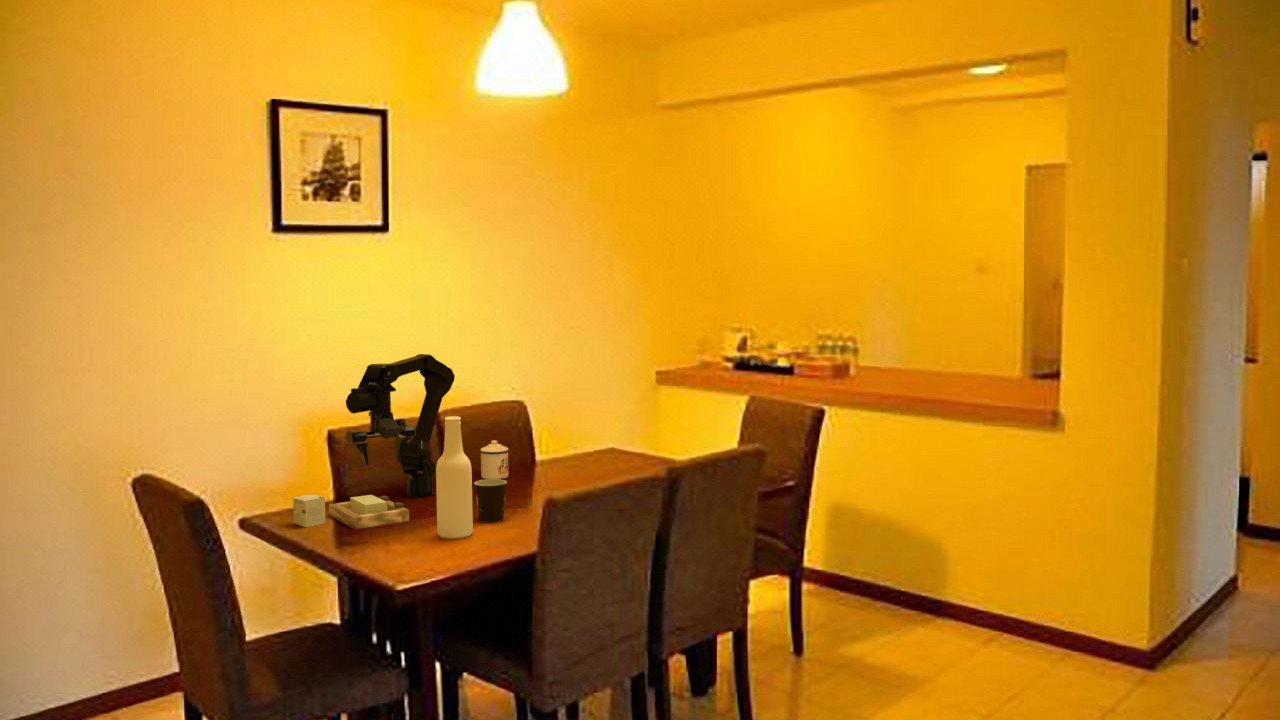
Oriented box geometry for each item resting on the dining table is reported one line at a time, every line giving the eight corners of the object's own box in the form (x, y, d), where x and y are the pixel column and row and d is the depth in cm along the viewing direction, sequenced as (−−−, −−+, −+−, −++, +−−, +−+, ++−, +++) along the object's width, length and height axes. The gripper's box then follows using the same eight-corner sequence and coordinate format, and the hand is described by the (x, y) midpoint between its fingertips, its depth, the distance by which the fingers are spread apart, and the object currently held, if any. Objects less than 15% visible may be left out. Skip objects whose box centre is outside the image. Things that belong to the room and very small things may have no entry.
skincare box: (293, 524, 281) (292, 497, 280) (313, 520, 286) (312, 493, 285) (305, 528, 277) (304, 500, 276) (326, 524, 282) (325, 496, 281)
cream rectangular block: (371, 508, 294) (371, 494, 293) (387, 516, 285) (387, 502, 284) (350, 512, 290) (350, 497, 290) (365, 520, 281) (365, 505, 281)
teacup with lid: (503, 480, 335) (502, 443, 334) (476, 479, 337) (475, 442, 336) (516, 472, 347) (515, 437, 346) (489, 471, 349) (489, 436, 348)
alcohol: (441, 530, 274) (439, 414, 271) (475, 530, 274) (473, 414, 271) (434, 539, 265) (431, 419, 263) (469, 539, 265) (466, 419, 262)
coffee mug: (501, 523, 280) (500, 486, 279) (470, 522, 282) (469, 485, 281) (515, 513, 292) (514, 477, 291) (485, 512, 294) (484, 476, 293)
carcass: (381, 507, 300) (381, 493, 299) (409, 520, 284) (408, 506, 284) (329, 515, 291) (328, 500, 291) (354, 529, 276) (354, 514, 275)
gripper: (359, 415, 288) (361, 472, 289) (423, 409, 299) (425, 464, 300) (344, 410, 297) (346, 465, 298) (407, 404, 308) (408, 458, 309)
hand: (382, 463), depth 301 cm, fingers open, 9 cm apart
